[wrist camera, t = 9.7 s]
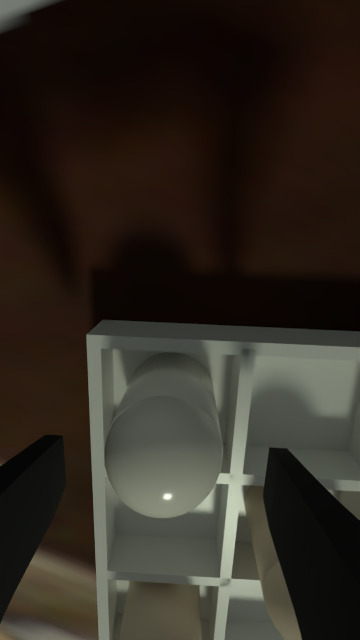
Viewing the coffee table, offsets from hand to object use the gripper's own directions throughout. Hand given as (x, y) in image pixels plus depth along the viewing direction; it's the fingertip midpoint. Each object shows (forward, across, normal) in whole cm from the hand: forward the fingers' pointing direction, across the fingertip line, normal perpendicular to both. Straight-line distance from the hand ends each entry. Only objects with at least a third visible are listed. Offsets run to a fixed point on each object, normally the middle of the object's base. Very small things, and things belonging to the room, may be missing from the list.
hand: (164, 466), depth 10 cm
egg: (+5, 0, 0) cm, 5 cm away
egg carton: (+6, -3, +7) cm, 9 cm away
